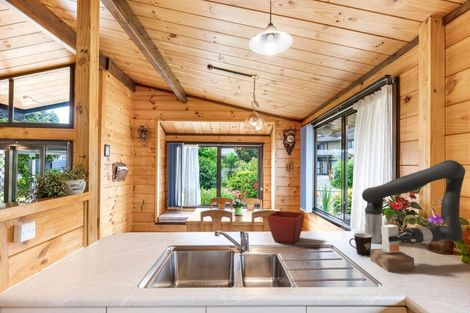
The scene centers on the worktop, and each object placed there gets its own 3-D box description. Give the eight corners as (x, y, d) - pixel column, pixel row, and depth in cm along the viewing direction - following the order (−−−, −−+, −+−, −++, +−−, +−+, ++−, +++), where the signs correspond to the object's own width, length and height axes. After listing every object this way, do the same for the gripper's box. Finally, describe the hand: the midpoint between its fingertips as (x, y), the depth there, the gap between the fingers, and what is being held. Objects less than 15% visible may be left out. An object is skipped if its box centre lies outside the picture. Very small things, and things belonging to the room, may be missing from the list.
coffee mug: (370, 251, 142) (369, 233, 143) (374, 257, 134) (373, 237, 134) (347, 250, 145) (346, 232, 146) (350, 255, 137) (349, 236, 137)
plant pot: (297, 246, 154) (296, 218, 155) (267, 242, 164) (266, 215, 164) (305, 238, 171) (304, 212, 171) (278, 235, 180) (277, 210, 181)
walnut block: (370, 261, 130) (370, 249, 130) (394, 260, 130) (393, 248, 131) (388, 272, 116) (387, 259, 116) (414, 271, 116) (413, 258, 117)
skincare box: (389, 253, 121) (387, 227, 121) (382, 250, 125) (380, 225, 125) (400, 251, 122) (398, 226, 123) (392, 249, 126) (390, 224, 127)
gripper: (406, 224, 132) (374, 226, 131) (430, 231, 118) (395, 233, 116) (407, 239, 132) (375, 241, 130) (431, 247, 118) (396, 250, 116)
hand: (385, 237), depth 123 cm, fingers closed on skincare box, 4 cm apart
